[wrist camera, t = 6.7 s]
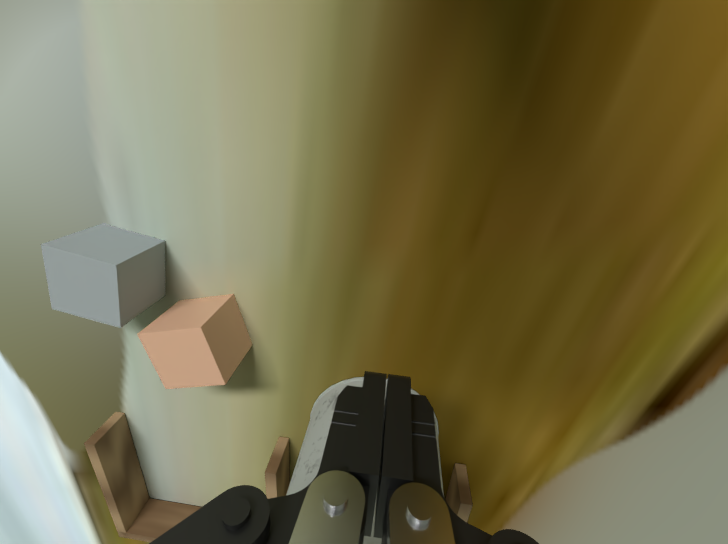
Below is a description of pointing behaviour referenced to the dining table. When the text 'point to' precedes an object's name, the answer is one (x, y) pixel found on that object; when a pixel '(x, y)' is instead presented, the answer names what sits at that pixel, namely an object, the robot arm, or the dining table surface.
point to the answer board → (156, 517)
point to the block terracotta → (197, 342)
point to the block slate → (105, 273)
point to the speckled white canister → (318, 437)
